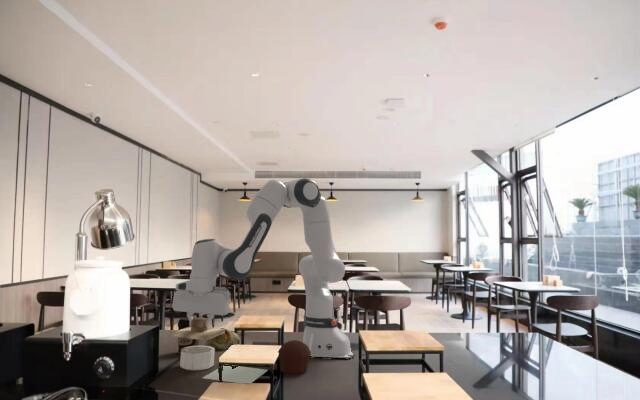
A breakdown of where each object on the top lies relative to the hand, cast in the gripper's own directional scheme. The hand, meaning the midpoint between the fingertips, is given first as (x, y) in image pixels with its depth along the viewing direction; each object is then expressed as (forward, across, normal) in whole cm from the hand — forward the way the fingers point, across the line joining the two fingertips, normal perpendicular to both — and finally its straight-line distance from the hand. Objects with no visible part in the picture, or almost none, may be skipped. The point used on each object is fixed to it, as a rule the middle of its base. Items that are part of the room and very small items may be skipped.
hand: (199, 326), depth 147 cm
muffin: (+14, -32, -8) cm, 36 cm away
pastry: (+14, +5, -30) cm, 33 cm away
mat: (+14, -16, +3) cm, 21 cm away
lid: (+3, 0, 0) cm, 3 cm away
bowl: (+14, 0, 0) cm, 14 cm away
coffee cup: (+14, +13, -15) cm, 24 cm away
